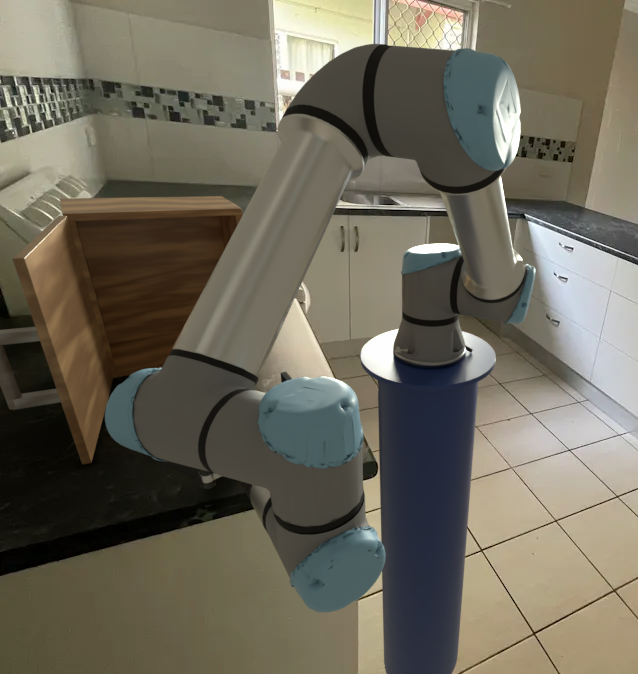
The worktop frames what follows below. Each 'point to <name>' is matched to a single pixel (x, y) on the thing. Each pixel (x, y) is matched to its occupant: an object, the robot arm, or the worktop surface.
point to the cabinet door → (61, 336)
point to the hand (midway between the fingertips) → (231, 393)
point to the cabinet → (147, 268)
